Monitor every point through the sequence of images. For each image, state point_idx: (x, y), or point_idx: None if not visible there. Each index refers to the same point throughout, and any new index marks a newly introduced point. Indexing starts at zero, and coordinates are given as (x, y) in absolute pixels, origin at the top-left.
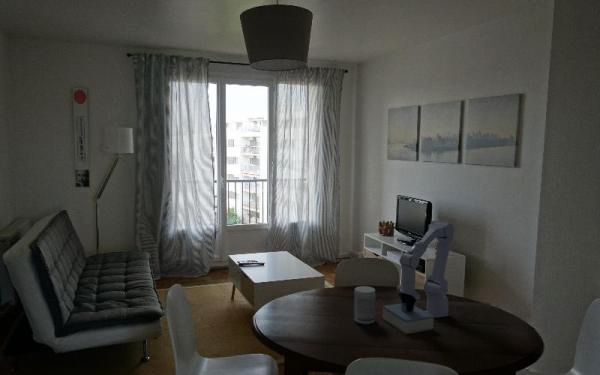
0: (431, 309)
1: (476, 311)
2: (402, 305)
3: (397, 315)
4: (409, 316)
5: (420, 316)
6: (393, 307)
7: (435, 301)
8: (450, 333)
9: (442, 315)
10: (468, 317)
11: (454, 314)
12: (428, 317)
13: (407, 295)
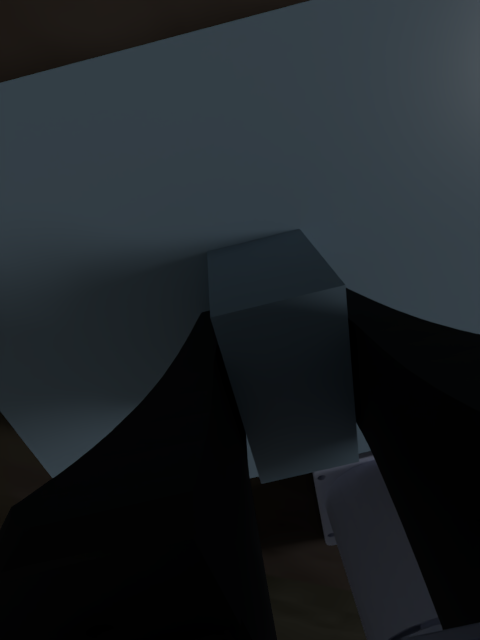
0: (366, 511)
1: (339, 622)
2: (288, 277)
3: (88, 59)
4: (32, 272)
5: (52, 408)
6: (476, 144)
7: (375, 607)
8: (46, 482)
9: (325, 517)
10: (280, 591)
11: (335, 558)
12: (53, 470)
13: (438, 551)
